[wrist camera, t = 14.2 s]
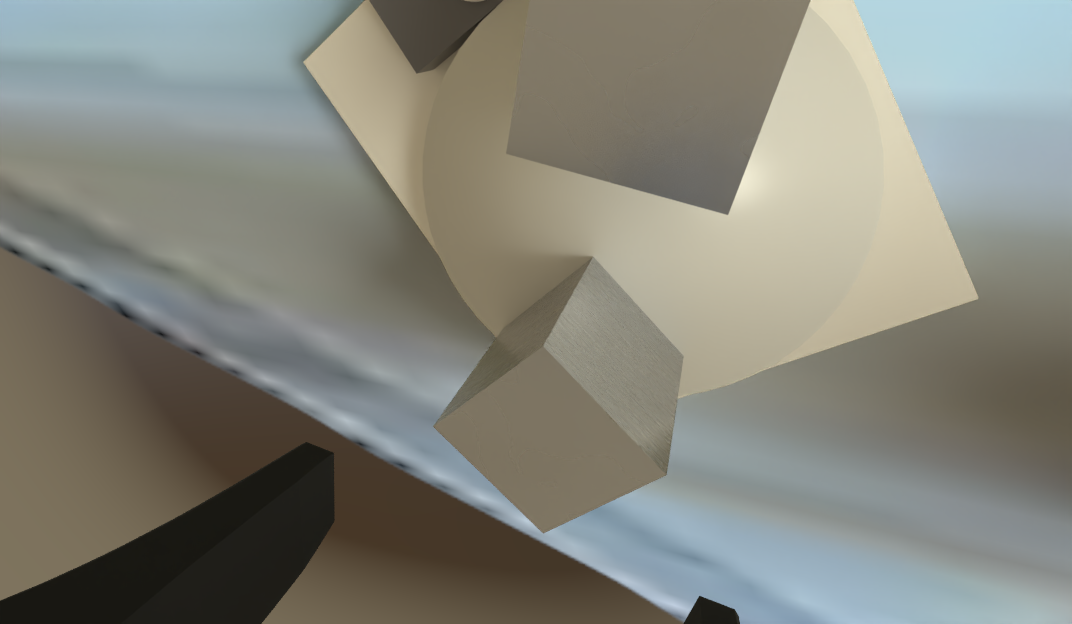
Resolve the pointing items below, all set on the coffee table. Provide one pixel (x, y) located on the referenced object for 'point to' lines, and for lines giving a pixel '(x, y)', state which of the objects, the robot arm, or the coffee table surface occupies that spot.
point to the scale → (649, 220)
